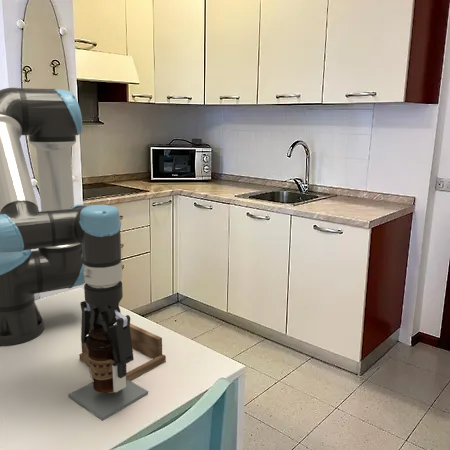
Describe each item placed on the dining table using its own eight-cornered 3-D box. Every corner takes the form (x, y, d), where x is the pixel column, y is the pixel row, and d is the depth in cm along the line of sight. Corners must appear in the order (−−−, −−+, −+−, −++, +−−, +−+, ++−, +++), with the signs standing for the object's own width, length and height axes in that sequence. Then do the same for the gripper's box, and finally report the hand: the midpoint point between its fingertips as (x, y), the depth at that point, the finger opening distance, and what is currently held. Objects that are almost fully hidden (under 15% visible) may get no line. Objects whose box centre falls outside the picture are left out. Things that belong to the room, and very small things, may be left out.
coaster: (68, 396, 101) (68, 394, 100) (113, 373, 110) (113, 371, 109) (102, 420, 93) (102, 417, 93) (148, 393, 102) (148, 391, 102)
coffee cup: (118, 401, 96) (115, 344, 93) (80, 395, 98) (77, 338, 94) (134, 377, 104) (133, 324, 101) (99, 372, 106) (97, 320, 103)
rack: (79, 360, 115) (78, 337, 114) (123, 340, 125) (122, 319, 124) (122, 385, 105) (121, 361, 104) (165, 361, 115) (165, 339, 114)
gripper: (58, 274, 98) (65, 372, 104) (120, 300, 86) (124, 409, 92) (89, 266, 104) (94, 358, 110) (150, 289, 92) (152, 392, 97)
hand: (107, 381), depth 101 cm, fingers closed on coffee cup, 7 cm apart
